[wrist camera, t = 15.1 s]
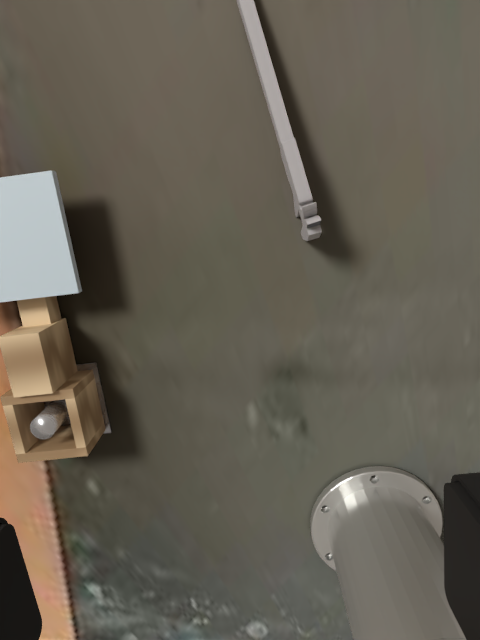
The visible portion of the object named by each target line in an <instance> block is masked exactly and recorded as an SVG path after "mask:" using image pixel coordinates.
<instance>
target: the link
mask: <svg viewBox="0 0 480 640" xmlns="http://www.w3.org/2000/svg"><path fill="white" fill-rule="evenodd" d="M17 304H18V308H19V312H20V316H21V320H22V324H23V326H21V327H19V328H17V329H15V330H12V331H10V332H8V333H6V334H4V335H2V336H0V348H1V351H2V355H3V359H4V363H5V367H6V370H7V374H8V378H9V382H10V385H11V390H9V391H8V392H6V393H5V394H4V395H2V396H1V397H0V398H1V401H2V405H3V409H4V412H5V416H6V420H7V423H8V427H9V431H10V434H11V438H12V442H13V445H14V449H15V453H16V456H17V460H18V463H22V462H32V461H42V460H52V459H62V458H72V457H82V456H88V455H89V454H90V452H91V451H92V449H93V448H94V446H95V445H96V443H97V442H98V440H99V439H100V437H101V436H102V434H103V433H104V431H105V430H106V428H105V424H104V419H103V415H102V410H101V405H100V401H99V396H98V391H97V387H96V382H95V377H94V373H93V370H84V371H78V370H77V366H76V361H75V357H74V352H73V348H72V343H71V339H70V334H69V330H68V325H67V321H66V318H61V314H60V310H59V305H58V301H57V297H56V296H50V297H42V298H34V299H25V300H17ZM63 399H65V401H66V405H67V410H68V414H69V418H70V422H71V425H69V426H60V427H59V429H58V430H57V431H56V432H55V433H54V434H53V435H52V437H50V438H48V439H39V438H37V437H35V436H34V435H33V434H32V433H31V430H30V424H31V422H32V420H33V419H35V418H36V417H37V416H38V415H39V414H40V413H41V412H42V411H43V410H44V409H45V405H44V402H45V401H54V400H63Z"/></svg>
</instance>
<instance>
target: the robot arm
mask: <svg viewBox="0 0 480 640" xmlns="http://www.w3.org/2000/svg"><path fill="white" fill-rule="evenodd" d="M442 526H443V519H442V512H441V509H440V506H439V503H438V501H437V500H436V498H435V496H434V495H433V493H432V492H431V490H430V489H429V488H428V487H427V486H426V484H425V483H424V482H422V481H421V480H420V479H419V478H417V477H416V476H414V475H412V474H410V473H408V472H406V471H404V470H400V469H397V468H394V467H385V466H372V467H365V468H360V469H356V470H353V471H351V472H348V473H346V474H343V475H342V476H340V477H339V478H337V479H335V480H334V481H333V482H331V483H330V484H329V485H328V486H327V487H326V488H325V489H324V490H323V491H322V493H321V494H320V495H319V497H318V498H317V500H316V502H315V504H314V506H313V509H312V513H311V517H310V530H311V535H312V540H313V543H314V546H315V549H316V551H317V552H318V554H319V556H320V557H321V559H322V560H323V561H324V562H325V563H326V564H327V565H328V566H329V567H331V568H332V569H333V570H335V571H336V572H337V575H338V579H339V583H340V587H341V591H342V595H343V600H344V604H345V608H346V612H347V616H348V620H349V624H350V628H351V632H352V636H353V640H480V473H469V474H459V475H454V476H453V477H452V479H451V483H446V484H445V485H444V544H443V542H442V541H441V539H440V537H441V534H442ZM41 629H42V619H41V615H40V612H39V608H38V605H37V602H36V598H35V595H34V592H33V588H32V585H31V582H30V579H29V575H28V572H27V569H26V565H25V562H24V559H23V555H22V552H21V549H20V546H19V542H18V539H17V536H16V532H15V529H14V527H13V526H12V525H11V524H8V523H7V521H6V520H5V519H4V518H0V640H39V637H40V634H41Z"/></svg>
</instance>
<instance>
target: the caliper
mask: <svg viewBox="0 0 480 640" xmlns="http://www.w3.org/2000/svg"><path fill="white" fill-rule="evenodd" d="M237 3H238V7H239V10H240V14H241V17H242V20H243V24H244V27H245V31H246V34H247V37H248V41H249V44H250V48H251V51H252V54H253V58H254V61H255V64H256V68H257V71H258V75H259V78H260V81H261V85H262V88H263V92H264V95H265V98H266V102H267V105H268V109H269V112H270V115H271V119H272V122H273V126H274V129H275V132H276V136H277V139H278V143H279V146H280V149H281V157H282V160H283V163H284V166H285V170H286V174H287V177H288V180H289V183H290V186H291V188H292V192H293V196H294V208H295V214H296V218H297V217H301V220H302V224H303V226H302V231H301V235H302V238H303V239H304V240H306V241H309V240H313V239H316V238H319V237H320V235H321V233H322V230H321V226H320V222H321V218H320V217H319V216H318V215H317V204H316V202H314V203H313V201H312V200H313V198H312V195H311V191H310V188H309V184H308V181H307V178H306V174H305V171H304V167H303V164H302V161H301V157H300V154H299V150H298V147H297V144H296V140H295V138H294V137H293V133H292V130H291V126H290V123H289V119H288V116H287V113H286V109H285V106H284V102H283V99H282V96H281V92H280V89H279V85H278V82H277V78H276V75H275V72H274V68H273V65H272V61H271V58H270V54H269V51H268V48H267V44H266V41H265V37H264V34H263V31H262V27H261V24H260V20H259V17H258V13H257V10H256V7H255V3H254V0H237Z"/></svg>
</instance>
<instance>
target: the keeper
mask: <svg viewBox="0 0 480 640" xmlns="http://www.w3.org/2000/svg"><path fill="white" fill-rule="evenodd" d="M80 292H82V288H81V284H80V279H79V274H78V270H77V265H76V261H75V256H74V252H73V247H72V243H71V238H70V233H69V229H68V224H67V220H66V215H65V211H64V206H63V201H62V197H61V192H60V188H59V183H58V179H57V174H56V171H45V172H38V173H31V174H23V175H16V176H8V177H1V178H0V302H9V301H17V300H25V299H34V298H42V297H50V296H59V295H67V294H75V293H80Z"/></svg>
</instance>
